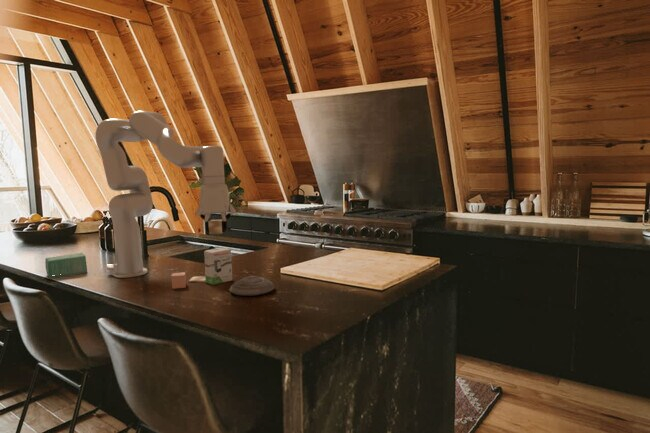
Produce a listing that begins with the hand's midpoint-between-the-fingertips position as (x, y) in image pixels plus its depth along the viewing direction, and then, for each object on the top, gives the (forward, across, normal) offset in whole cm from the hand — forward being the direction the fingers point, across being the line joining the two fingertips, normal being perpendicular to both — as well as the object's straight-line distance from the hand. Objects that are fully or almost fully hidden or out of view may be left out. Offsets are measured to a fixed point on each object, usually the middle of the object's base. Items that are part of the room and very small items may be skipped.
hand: (216, 231), depth 167 cm
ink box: (+19, 0, 0) cm, 19 cm away
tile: (+18, -8, +3) cm, 20 cm away
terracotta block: (+18, -13, -5) cm, 23 cm away
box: (+18, -65, +18) cm, 70 cm away
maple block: (0, 0, 0) cm, 0 cm away
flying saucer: (+19, +14, -14) cm, 27 cm away
